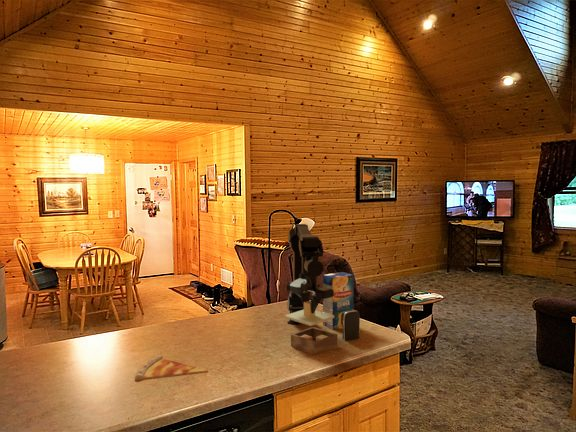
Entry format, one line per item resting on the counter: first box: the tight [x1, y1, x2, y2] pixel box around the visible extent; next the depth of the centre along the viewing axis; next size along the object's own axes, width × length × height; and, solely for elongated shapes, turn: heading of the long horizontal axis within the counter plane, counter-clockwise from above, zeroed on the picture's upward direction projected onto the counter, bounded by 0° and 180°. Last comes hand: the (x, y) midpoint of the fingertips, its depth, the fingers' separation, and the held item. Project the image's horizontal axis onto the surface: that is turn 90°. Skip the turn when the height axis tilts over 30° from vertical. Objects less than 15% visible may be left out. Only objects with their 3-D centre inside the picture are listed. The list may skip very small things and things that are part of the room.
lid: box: [284, 300, 334, 327], centre depth 161 cm, size 13×13×6 cm
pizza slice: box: [134, 354, 209, 381], centre depth 138 cm, size 16×22×2 cm
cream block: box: [316, 335, 328, 341], centre depth 160 cm, size 4×4×4 cm
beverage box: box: [322, 271, 355, 330], centre depth 183 cm, size 7×11×22 cm, turn 121°
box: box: [290, 326, 338, 356], centre depth 160 cm, size 12×12×5 cm
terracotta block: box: [300, 335, 312, 340], centre depth 160 cm, size 4×4×4 cm
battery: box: [341, 309, 361, 342], centre depth 168 cm, size 7×4×11 cm, turn 118°
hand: (309, 312), depth 161 cm, fingers closed on lid, 3 cm apart
